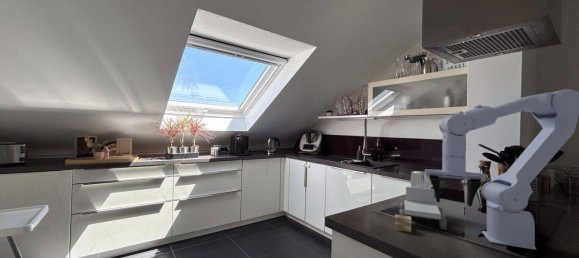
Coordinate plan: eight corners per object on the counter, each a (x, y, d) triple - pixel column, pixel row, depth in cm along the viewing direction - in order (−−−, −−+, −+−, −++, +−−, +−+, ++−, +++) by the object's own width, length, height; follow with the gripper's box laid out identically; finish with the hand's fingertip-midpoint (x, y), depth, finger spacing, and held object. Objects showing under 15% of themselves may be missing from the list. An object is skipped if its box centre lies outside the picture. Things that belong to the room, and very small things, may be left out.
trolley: (440, 218, 85) (440, 189, 85) (446, 232, 73) (447, 198, 73) (399, 213, 91) (400, 185, 91) (399, 224, 79) (399, 193, 79)
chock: (410, 227, 77) (410, 214, 77) (411, 233, 73) (411, 219, 73) (395, 225, 79) (395, 212, 79) (394, 230, 75) (394, 217, 75)
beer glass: (415, 207, 98) (415, 170, 98) (434, 212, 93) (434, 172, 93) (407, 211, 94) (407, 171, 94) (426, 215, 88) (426, 174, 88)
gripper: (480, 157, 71) (480, 203, 71) (424, 154, 78) (423, 196, 77) (488, 159, 65) (487, 210, 65) (426, 155, 71) (425, 202, 71)
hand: (453, 203), depth 71 cm, fingers open, 7 cm apart
